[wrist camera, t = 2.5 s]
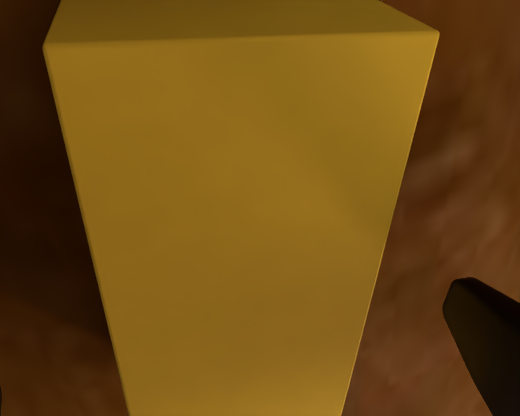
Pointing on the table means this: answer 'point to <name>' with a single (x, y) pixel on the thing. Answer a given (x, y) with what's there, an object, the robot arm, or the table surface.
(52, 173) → the table surface
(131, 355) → the sponge
